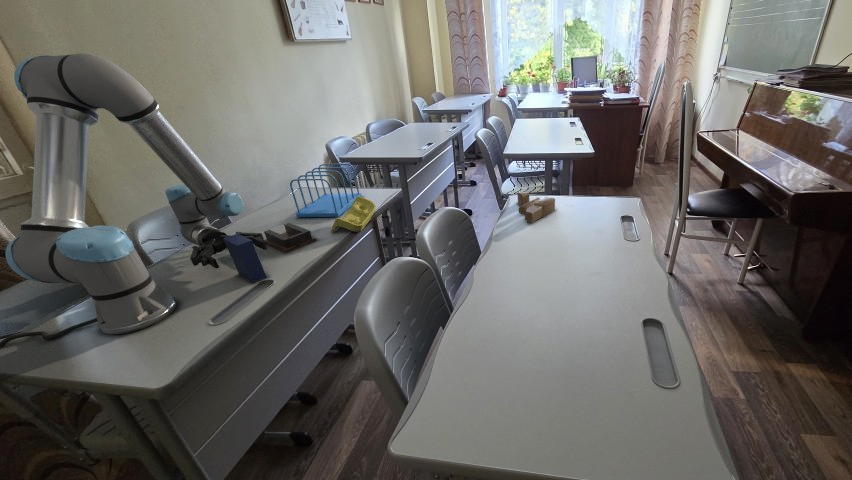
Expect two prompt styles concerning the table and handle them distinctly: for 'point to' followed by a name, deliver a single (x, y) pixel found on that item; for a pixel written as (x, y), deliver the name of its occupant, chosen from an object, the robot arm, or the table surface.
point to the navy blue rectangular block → (245, 257)
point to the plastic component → (356, 215)
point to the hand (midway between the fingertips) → (241, 254)
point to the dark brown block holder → (289, 238)
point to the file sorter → (326, 196)
